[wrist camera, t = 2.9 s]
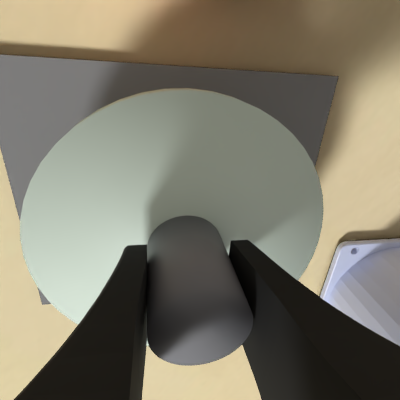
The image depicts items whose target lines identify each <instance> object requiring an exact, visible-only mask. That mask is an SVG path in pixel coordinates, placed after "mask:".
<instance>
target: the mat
mask: <svg viewBox="0 0 400 400" xmlns="http://www.w3.org/2000/svg"><path fill="white" fill-rule="evenodd" d="M338 77H339V76H327V75H312V74H296V73H281V72H265V71H250V70H234V69H219V68H203V67H188V66H172V65H157V64H141V63H126V62H110V61H95V60H80V59H64V58H49V57H33V56H18V55H2V54H0V148H1V152H2V155H3V159H4V163H5V167H6V170H7V174H8V178H9V182H10V185H11V189H12V193H13V197H14V200H15V204H16V208H17V212H18V215H19V219H20V218H21V212H22V206H23V200H24V198H25V195H26V192H27V189H28V186H29V183H30V181H31V179H32V177H33V175H34V174H35V172H36V170H37V168H38V167H39V165H40V163H41V161H42V160H43V159H44V158H45V156H46V155H47V154H48V153H49V151H50V150H51V149H52V148H53V146H54V145H55V144H56V143H57V142H58V141H59V140H60V139H61V138H62V137H63V136H64V135H66V134H67V133H68V132H69V131H70V130H71V129H72V128H73V127H74V126H75V125H77V124H78V123H79V122H80V121H82V120H83V119H85V118H86V117H88V116H89V115H91V114H92V113H94V112H95V111H97V110H98V109H100V108H102V107H104V106H106V105H109V104H111V103H113V102H115V101H117V100H119V99H122V98H125V97H129V96H132V95H135V94H138V93H141V92H147V91H154V90H160V89H170V88H191V89H200V90H208V91H213V92H217V93H221V94H224V95H228V96H232V97H234V98H236V99H239V100H241V101H243V102H245V103H248V104H250V105H252V106H254V107H257V108H259V109H261V110H262V111H264V112H265V113H267V114H268V115H270V116H272V117H273V118H275V119H276V120H278V121H279V122H280V123H281V124H282V125H283V126H285V127H286V128H287V129H288V130H289V131H290V132H291V133H292V134H293V135H294V136H295V137H296V138H297V140H298V141H299V142H300V143H301V144H302V146H303V147H304V148H305V150H306V152H307V153H308V155H309V157H310V159H311V160H312V162H313V164H314V167H315V165H316V161H317V157H318V153H319V149H320V145H321V142H322V138H323V134H324V130H325V126H326V123H327V119H328V115H329V111H330V107H331V103H332V100H333V96H334V92H335V88H336V84H337V81H338ZM38 290H39V294H40V298H41V302H42V305H43V304H51V303H50V302H49V301H48V300H47V298H46V297H45V296H44V295H43V293H42V292H41V291H40V289H39V288H38Z"/></svg>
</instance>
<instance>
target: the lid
mask: <svg viewBox="0 0 400 400" xmlns="http://www.w3.org/2000/svg"><path fill="white" fill-rule="evenodd" d="M322 220H323V195H322V190H321V185H320V181H319V177H318V175H317V172H316V169H315V167H314V164H313V162H312V160H311V159H310V157H309V155H308V153H307V152H306V150H305V148H304V147H303V146H302V144H301V143H300V142H299V141H298V140H297V138H296V137H295V136H294V135H293V134H292V133H291V132H290V131H289V130H288V129H287V128H286V127H285V126H283V125H282V124H281V123H280V122H279V121H278V120H276V119H275V118H273V117H272V116H270V115H268V114H267V113H265V112H264V111H262V110H261V109H259V108H257V107H254V106H252V105H250V104H248V103H245V102H243V101H241V100H239V99H236V98H234V97H232V96H228V95H224V94H221V93H217V92H213V91H208V90H200V89H191V88H170V89H160V90H154V91H147V92H141V93H138V94H135V95H132V96H129V97H125V98H122V99H119V100H117V101H115V102H113V103H111V104H109V105H106V106H104V107H102V108H100V109H98V110H97V111H95V112H94V113H92V114H91V115H89V116H88V117H86V118H85V119H83V120H82V121H80V122H79V123H78V124H77V125H75V126H74V127H73V128H72V129H71V130H70V131H69V132H68V133H67V134H66V135H64V136H63V137H62V138H61V139H60V140H59V141H58V142H57V143H56V144H55V145H54V146H53V148H52V149H51V150H50V151H49V153H48V154H47V155H46V156H45V158H44V159H43V160H42V161H41V163H40V165H39V167H38V168H37V170H36V172H35V174H34V175H33V177H32V179H31V181H30V183H29V186H28V189H27V192H26V195H25V198H24V200H23V206H22V212H21V218H20V240H21V245H22V250H23V256H24V259H25V261H26V264H27V267H28V270H29V272H30V274H31V276H32V278H33V280H34V281H35V283H36V285H37V287H38V288H39V289H40V291H41V292H42V293H43V295H44V296H45V297H46V298H47V300H48V301H49V302H50V303H51V304H52V305H53V306H54V307H55V308H56V309H57V310H58V311H60V312H61V313H62V314H63V315H65V316H66V317H67V318H69V319H70V320H72V321H73V322H74V323H76V324H79V323H80V322H81V320H82V319H83V318H84V316H85V315H86V313H87V312H88V310H89V309H90V308H91V306H92V305H93V303H94V302H95V300H96V299H97V298H98V296H99V294H100V293H101V291H102V290H103V288H104V286H105V285H106V283H107V281H108V280H109V278H110V276H111V275H112V273H113V271H114V269H115V267H116V266H117V264H118V262H119V260H120V258H121V255H122V253H123V250H124V248H125V247H126V246H128V245H145V244H147V344H146V346H149V347H150V348H151V350H152V351H153V352H154V354H155V355H157V356H158V357H159V358H161V359H163V360H165V361H167V362H170V363H173V364H178V365H200V364H206V363H210V362H213V361H216V360H219V359H221V358H223V357H225V356H227V355H229V354H230V353H232V352H233V351H235V350H236V349H237V348H239V347H240V346H241V345H242V344H243V343H244V341H245V340H246V339H247V337H248V336H249V334H250V332H251V330H252V326H253V314H252V311H251V309H250V306H249V304H248V301H247V299H246V296H245V294H244V292H243V289H242V287H241V284H240V282H239V280H238V277H237V275H236V272H235V270H234V267H233V265H232V263H231V260H230V258H229V251H230V243H231V240H249V241H250V242H251V243H253V244H254V245H255V246H256V247H258V248H259V249H260V250H261V251H262V252H263V253H265V254H266V255H267V256H268V257H269V258H271V259H272V260H273V261H274V262H275V263H276V264H278V265H279V266H280V267H281V268H282V269H284V270H285V271H286V272H287V273H289V274H290V275H291V276H292V277H294V278H295V279H296V280H299V278H300V277H301V275H302V274H303V272H304V271H305V269H306V268H307V266H308V264H309V262H310V260H311V258H312V256H313V254H314V252H315V249H316V246H317V244H318V241H319V237H320V232H321V228H322Z"/></svg>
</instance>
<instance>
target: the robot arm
mask: <svg viewBox="0 0 400 400" xmlns="http://www.w3.org/2000/svg"><path fill="white" fill-rule="evenodd" d="M229 258H230V260H231V263H232V265H233V267H234V270H235V272H236V275H237V277H238V280H239V282H240V284H241V287H242V289H243V292H244V294H245V296H246V299H247V301H248V304H249V306H250V309H251V311H252V314H253V326H252V330H251V332H250V334H249V336H248V337H247V339H246V340H245V341H244V343H243V344H242V345H243V347H244V350H245V353H246V355H247V358H248V361H249V364H250V366H251V369H252V372H253V374H254V377H255V380H256V383H257V386H258V389H259V392H260V395H261V399H262V400H400V238H398V239H379V240H361V241H345V242H342V243H340V244H339V245H338V247H337V249H336V252H335V254H334V257H333V260H332V263H331V266H330V269H329V272H328V275H327V277H326V280H325V283H324V286H323V289H322V292H321V295H320V297H319V296H318V295H316V294H315V293H314V292H312V291H311V290H309V289H308V288H307V287H305V286H304V285H303V284H301V283H300V282H299V281H298V280H296V279H295V278H294V277H292V276H291V275H290V274H289V273H287V272H286V271H285V270H284V269H282V268H281V267H280V266H279V265H278V264H276V263H275V262H274V261H273V260H272V259H271V258H269V257H268V256H267V255H266V254H265V253H263V252H262V251H261V250H260V249H259V248H258V247H256V246H255V245H254V244H253V243H251V242H250V241H249V240H231V243H230V251H229ZM146 344H147V244H145V245H128V246H126V247H125V248H124V250H123V253H122V255H121V258H120V260H119V262H118V264H117V266H116V267H115V269H114V271H113V273H112V275H111V276H110V278H109V280H108V281H107V283H106V285H105V286H104V288H103V290H102V291H101V293H100V294H99V296H98V298H97V299H96V300H95V302H94V303H93V305H92V306H91V308H90V309H89V310H88V312H87V313H86V315H85V316H84V318H83V319H82V320H81V322H80V323H79V324H78V326H77V327H76V328H75V330H74V331H73V332H72V334H71V335H70V336H69V337H68V339H67V340H66V341H65V342H64V344H63V345H62V346H61V347H60V349H59V350H58V351H57V352H56V353H55V355H54V356H53V357H52V358H51V359H50V360H49V361H48V363H47V364H46V365H45V366H44V367H43V368H42V369H41V371H40V372H39V373H38V374H37V375H36V376H35V377H34V378H33V380H32V381H31V382H30V383H29V384H28V385H27V386H26V387H25V388H24V389H23V390H22V392H21V393H20V394H19V395H18V396H17V397H16V398H15V399H14V400H142V388H143V377H144V366H145V355H146Z"/></svg>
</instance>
